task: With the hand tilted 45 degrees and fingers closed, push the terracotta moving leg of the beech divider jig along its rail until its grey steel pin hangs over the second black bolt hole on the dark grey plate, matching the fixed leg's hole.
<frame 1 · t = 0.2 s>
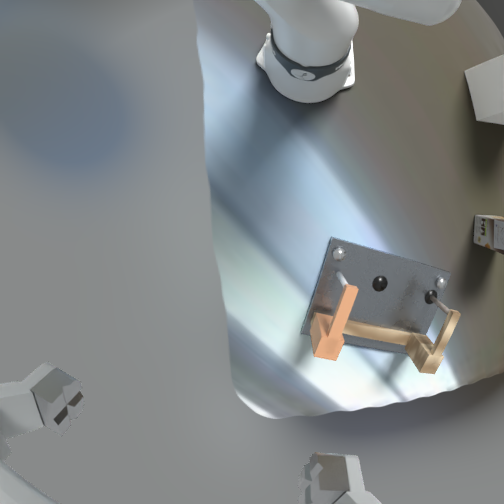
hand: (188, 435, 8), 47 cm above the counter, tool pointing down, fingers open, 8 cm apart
moving leg: (333, 312, 48), point 7 cm above the counter, slide at 0.0 cm
fixed leg: (369, 327, 56), resting on hole plate
coffee box: (487, 228, 48), on the counter
hole plate: (379, 301, 54), on the counter
milk: (487, 98, 41), on the counter
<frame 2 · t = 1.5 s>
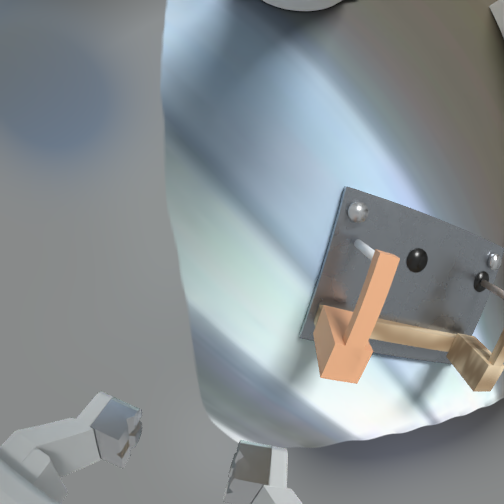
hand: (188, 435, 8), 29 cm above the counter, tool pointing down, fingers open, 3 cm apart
moving leg: (353, 302, 29), point 7 cm above the counter, slide at 0.0 cm
fixed leg: (399, 327, 36), resting on hole plate
hole plate: (415, 289, 35), on the counter
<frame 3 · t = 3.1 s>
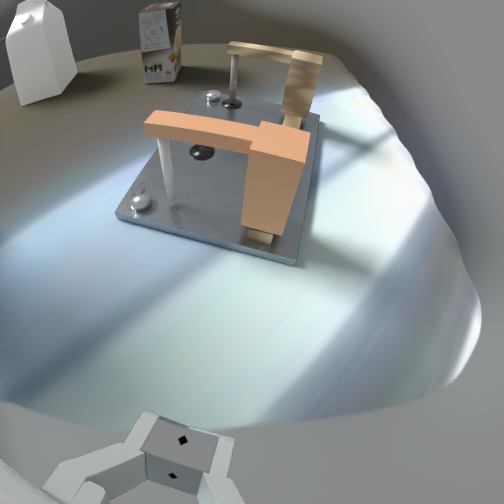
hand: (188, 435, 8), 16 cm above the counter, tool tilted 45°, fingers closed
moving leg: (222, 173, 25), point 7 cm above the counter, slide at 0.0 cm
fixed leg: (280, 166, 37), resting on hole plate
coffee box: (164, 75, 49), on the counter
hole plate: (236, 155, 37), on the counter
milk: (49, 88, 48), on the counter
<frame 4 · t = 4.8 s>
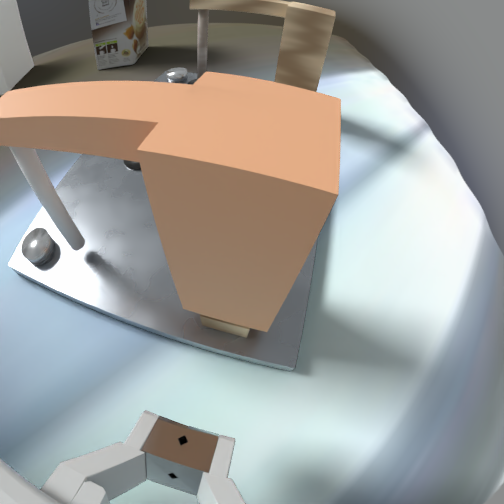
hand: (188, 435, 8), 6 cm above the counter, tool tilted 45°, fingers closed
moving leg: (131, 208, 11), point 7 cm above the counter, slide at 0.0 cm
fixed leg: (271, 175, 22), resting on hole plate
coffee box: (124, 58, 35), on the counter
hole plate: (199, 159, 23), on the counter
milk: (2, 86, 33), on the counter
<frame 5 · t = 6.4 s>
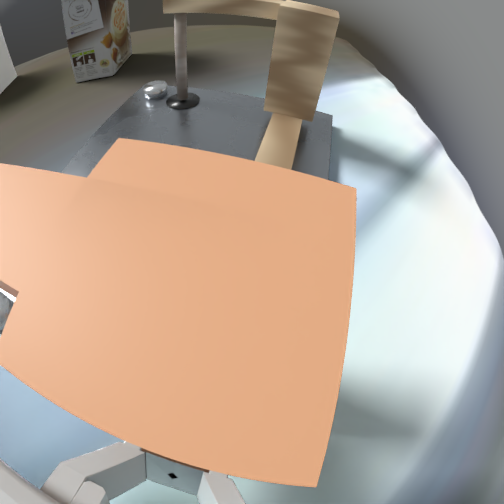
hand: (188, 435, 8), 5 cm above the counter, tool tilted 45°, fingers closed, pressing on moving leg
moving leg: (72, 304, 8), point 7 cm above the counter, slide at 0.7 cm, touching gripper
fixed leg: (259, 221, 19), resting on hole plate
coffee box: (105, 67, 32), on the counter
hole plate: (174, 200, 19), on the counter
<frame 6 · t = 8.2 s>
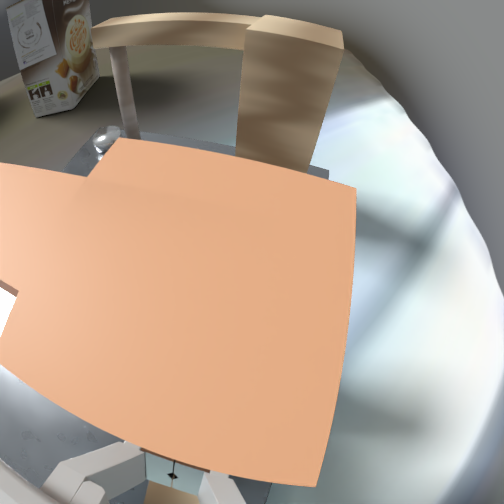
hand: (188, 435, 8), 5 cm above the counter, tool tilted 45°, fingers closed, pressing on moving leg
moving leg: (72, 304, 8), point 7 cm above the counter, slide at 9.3 cm, touching gripper
fixed leg: (222, 348, 15), resting on hole plate
coffee box: (69, 96, 27), on the counter
hole plate: (120, 315, 15), on the counter
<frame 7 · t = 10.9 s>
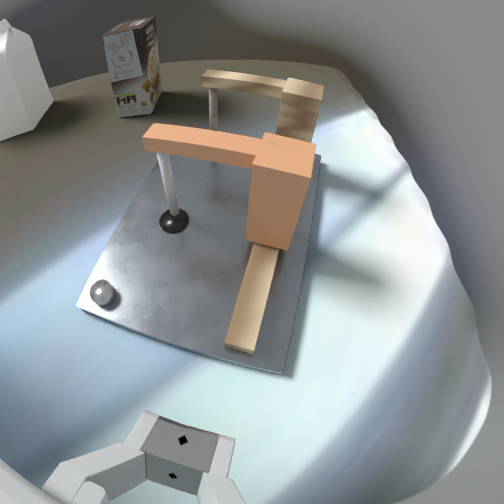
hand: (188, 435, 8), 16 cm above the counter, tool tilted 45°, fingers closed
moving leg: (225, 187, 24), point 7 cm above the counter, slide at 9.5 cm
fixed leg: (270, 234, 31), resting on hole plate
coffee box: (141, 104, 45), on the counter
hole plate: (216, 221, 31), on the counter
milk: (24, 121, 44), on the counter
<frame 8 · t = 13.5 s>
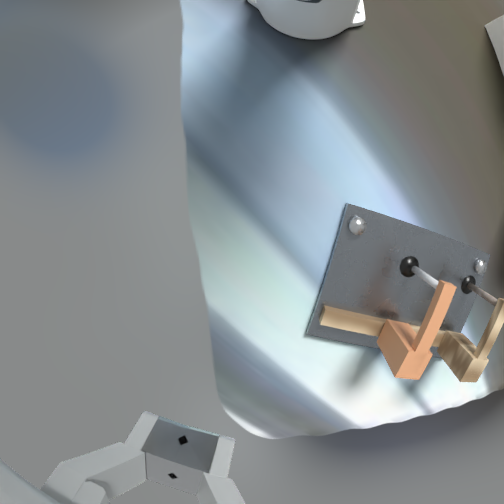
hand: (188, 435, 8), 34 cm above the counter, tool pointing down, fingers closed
moving leg: (414, 317, 34), point 7 cm above the counter, slide at 9.5 cm
fixed leg: (394, 325, 42), resting on hole plate
hole plate: (408, 291, 40), on the counter
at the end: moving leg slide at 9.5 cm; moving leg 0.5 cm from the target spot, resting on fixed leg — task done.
